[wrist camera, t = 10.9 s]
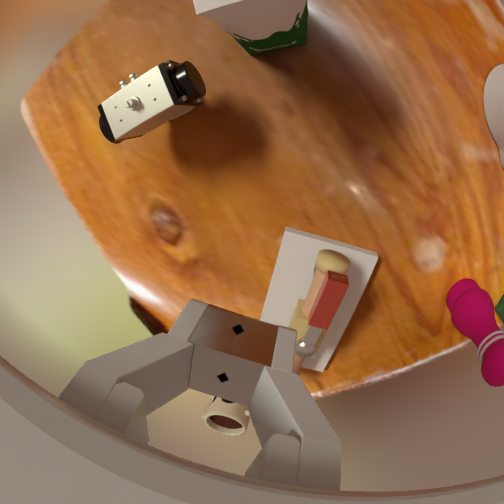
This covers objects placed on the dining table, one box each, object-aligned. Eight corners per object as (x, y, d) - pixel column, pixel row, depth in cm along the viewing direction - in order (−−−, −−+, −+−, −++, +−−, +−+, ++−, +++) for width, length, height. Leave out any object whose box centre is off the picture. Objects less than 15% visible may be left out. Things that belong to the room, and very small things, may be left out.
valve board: (376, 252, 38) (388, 283, 31) (322, 365, 49) (321, 401, 42) (285, 226, 39) (279, 253, 32) (251, 348, 50) (241, 383, 43)
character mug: (258, 351, 50) (243, 410, 38) (276, 376, 52) (264, 433, 41) (208, 362, 54) (185, 415, 42) (227, 385, 56) (209, 437, 44)
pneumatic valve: (225, 100, 34) (187, 94, 23) (150, 137, 37) (96, 150, 27) (209, 64, 32) (167, 46, 21) (136, 104, 36) (79, 107, 25)
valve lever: (326, 269, 32) (327, 278, 30) (348, 275, 32) (350, 285, 30) (293, 347, 38) (291, 357, 36) (311, 351, 38) (310, 362, 36)
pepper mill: (442, 282, 38) (494, 379, 20) (480, 269, 36) (542, 355, 18) (443, 318, 41) (482, 414, 23) (478, 306, 38) (527, 393, 21)
